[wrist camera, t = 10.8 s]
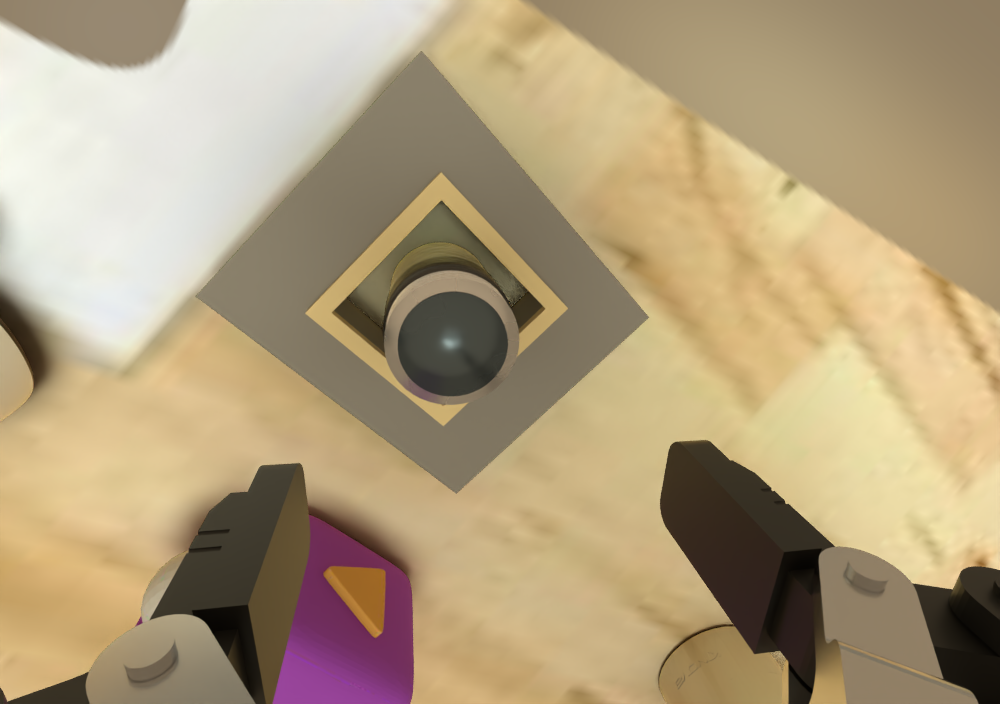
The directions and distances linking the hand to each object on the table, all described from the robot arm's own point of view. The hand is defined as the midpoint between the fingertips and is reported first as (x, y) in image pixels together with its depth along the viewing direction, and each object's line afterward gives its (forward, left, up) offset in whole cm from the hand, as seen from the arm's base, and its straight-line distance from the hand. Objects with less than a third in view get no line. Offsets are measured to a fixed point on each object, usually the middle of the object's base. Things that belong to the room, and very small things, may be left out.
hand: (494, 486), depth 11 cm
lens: (0, 0, -17) cm, 17 cm away
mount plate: (0, 0, -17) cm, 17 cm away
